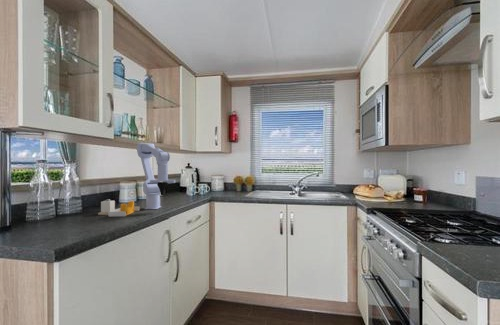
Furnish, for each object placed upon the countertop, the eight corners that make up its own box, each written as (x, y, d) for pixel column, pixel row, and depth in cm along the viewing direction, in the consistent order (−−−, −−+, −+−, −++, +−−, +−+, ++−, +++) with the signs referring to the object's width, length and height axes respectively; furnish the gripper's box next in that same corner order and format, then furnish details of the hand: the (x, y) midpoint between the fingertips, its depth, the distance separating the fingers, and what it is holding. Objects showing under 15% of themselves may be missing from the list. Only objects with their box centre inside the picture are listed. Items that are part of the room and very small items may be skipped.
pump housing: (105, 212, 144) (105, 198, 145) (117, 212, 144) (117, 198, 145) (98, 214, 137) (98, 200, 138) (110, 214, 137) (110, 200, 138)
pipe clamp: (126, 212, 146) (126, 201, 146) (134, 212, 146) (134, 201, 146) (117, 216, 134) (117, 204, 134) (125, 216, 134) (125, 204, 134)
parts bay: (124, 210, 150) (124, 206, 150) (139, 210, 150) (139, 206, 150) (108, 216, 132) (108, 211, 132) (125, 216, 132) (125, 211, 132)
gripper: (147, 172, 144) (147, 196, 143) (172, 172, 144) (173, 195, 143) (152, 172, 151) (152, 194, 150) (176, 172, 151) (176, 194, 150)
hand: (162, 195), depth 147 cm, fingers closed
